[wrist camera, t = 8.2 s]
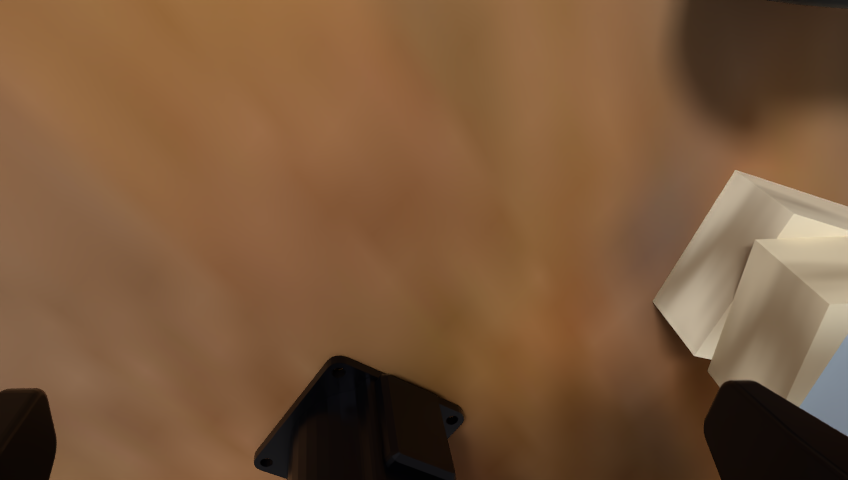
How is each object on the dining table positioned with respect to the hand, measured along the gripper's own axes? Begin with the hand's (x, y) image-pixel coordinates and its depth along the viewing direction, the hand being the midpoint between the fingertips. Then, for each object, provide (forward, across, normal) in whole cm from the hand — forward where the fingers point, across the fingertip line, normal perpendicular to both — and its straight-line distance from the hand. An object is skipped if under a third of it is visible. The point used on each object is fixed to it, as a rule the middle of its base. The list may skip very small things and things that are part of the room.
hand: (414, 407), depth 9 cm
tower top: (+10, -16, +5) cm, 19 cm away
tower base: (+13, -16, +5) cm, 21 cm away
